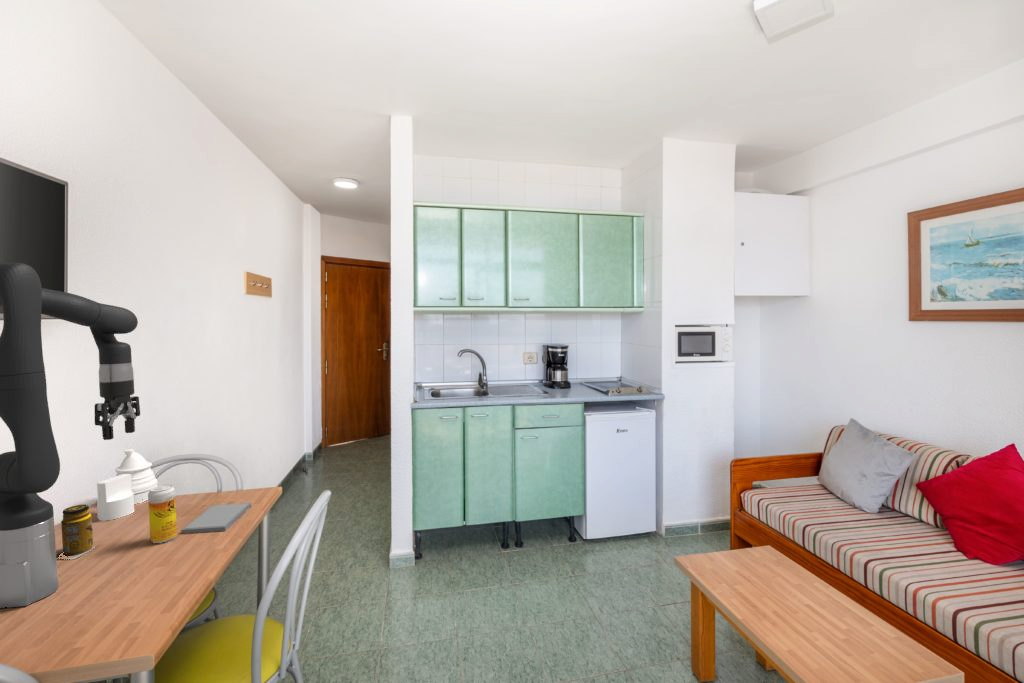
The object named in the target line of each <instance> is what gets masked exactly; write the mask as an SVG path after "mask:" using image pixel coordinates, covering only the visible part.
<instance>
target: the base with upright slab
mask: <svg viewBox="0 0 1024 683" xmlns="http://www.w3.org/2000/svg"><path fill="white" fill-rule="evenodd" d="M96 488H97V490H96V491H97V500H96V506H97V508H96V509H97V520H98V519H99V520H102V521H101V522H107V521H106V520H111V521H114V520H113V519H116V518H120V517H123V516H126V515H129V514H131V513H133V512H134V513H135V505H134V494H133V492H132V485H131V474H122V475H119V476H116V475H115V476H112V477H111V478H108V479H105V480H102V481H99V482H97V483H96ZM134 513H133V514H134ZM131 515H132V514H131ZM129 516H130V515H129ZM99 520H98V521H99Z"/></svg>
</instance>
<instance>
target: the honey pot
mask: <svg viewBox="0 0 1024 683" xmlns="http://www.w3.org/2000/svg"><path fill="white" fill-rule="evenodd" d="M123 452H124V454H125V457H124V459H123V460H122V462H121V463H120V465H119V466H117V467H116V468H115V470H114V471H115V472H116V475H115V477H116V476H119V475H122V474H131V485H132V492H133V494H134V504H136V505H138V504H137V503H140V504H143V503H142V502H144V501H146V500H148V493H149V491H150V489H151V488H154V487H157V486H159V484H158V482H159V481H158V479H157V478H156V475H155V474H154V471H153V469H152V468H151V467H152V465H153V463H152V462H150V461H147V460H146V459H145V457H144V456H142V455H141V454H140V453H138V452H137V451H135V449H133V448H129V449H125V450H124V451H123ZM142 499H143V500H142ZM144 503H145V502H144Z"/></svg>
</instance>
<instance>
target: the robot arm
mask: <svg viewBox="0 0 1024 683" xmlns="http://www.w3.org/2000/svg"><path fill="white" fill-rule="evenodd" d="M39 276H40V275H39V274H38V273H37V271H36V270H35V269H34V268H33V267H32V266H31V265H28V264H26V263H24V262H23V263H22V262H0V307H2V313H3V317H2V318H3V323H2V324H3V326H2V330H1V333H0V418H1V420H2V421H3V422H4V424H5V425H6V426H7V428H8V429H9V431H10V434H11V436H12V438H13V443H14V450H12V451H6V452H2V453H0V609H5V607H7V608H15V607H16V608H17V607H19V608H20V607H27V606H29V605H30V604H33V603H35V602H37V601H40V600H42V599H44V598H47V597H48V596H50V595H52V594H54V593H55V592H56V591H57V590H58V588H59V578H58V577H59V576H58V575H59V574H58V560H57V559H56V554H57V545H56V532H55V531H56V530H55V529H56V528H55V518H54V517H55V514H54V513H55V512H54V506H53V504H52V503H51V502H49V501H48V500H46V499H44V498H42V497H41V496H40V495H39V494H40V493H43V492H46V491H48V490H49V489H51V488H52V487H53V486H54V485H55V484H56V482H57V480H58V478H59V475H60V472H61V461H60V456H59V452H58V448H57V443H56V440H55V436H54V432H53V427H52V421H51V416H50V414H51V413H50V408H49V402H48V400H49V399H48V392H47V390H48V387H47V376H46V368H45V362H44V354H43V343H42V342H43V339H42V315H45V316H48V317H52V318H54V319H59V320H62V321H66V322H69V323H73V324H76V325H80V326H81V327H82V326H83V327H87V328H89V329H90V333H91V334H92V337H93V339H94V343H95V345H96V347H97V349H98V364H99V368H98V384H99V386H98V387H99V396H100V398H103V399H104V402H100V403H95V404H94V426H98V427H99V426H100V427H101V428H102V429H101V431H102V432H101V433H102V434H101V435H102V439H103V440H104V441H107V440H108V441H109V440H110V441H111V440H113V439H114V426H113V425H114V422H115V420H116V419H118V417H119V416H122V417H123V418H124V432H125V433H126V434H133V433H135V432H136V426H135V425H136V424H135V423H136V421H135V420H136V419H137V417H139V416H141V408H140V407H141V406H140V397H139V396H136V395H135V396H134V394H135V378H134V367H133V363H132V362H133V360H132V348H131V347H132V346H131V345H130V344H129V343H127V342H123V341H119V340H117V338H116V336H115V335H125V334H126V335H127V334H129V333H132V332H133V331H135V329H137V327H138V323H139V322H138V317H137V316H136V314H134V312H133V311H131V310H130V309H127V308H124V307H120V306H116V305H112V304H107V303H101V302H97V301H95V300H92V299H89V298H87V297H84V296H81V295H79V294H78V295H77V294H75V293H70V292H65V291H61V290H54V289H49V288H44V287H42V283H41V279H40V277H39ZM134 409H135V410H134ZM38 493H39V494H38Z"/></svg>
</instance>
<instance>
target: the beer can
mask: <svg viewBox="0 0 1024 683" xmlns="http://www.w3.org/2000/svg"><path fill="white" fill-rule="evenodd" d="M147 502H148V503H147V504H148V519H149V540H150V541H151V542H152V543H153V542H154V543H153V544H155V543H160V544H163V543H162V542H165V543H168V542H171V541H172V539H173V540H174V539H175V538H176V536H177V535H178V528H177V524H178V523H177V510H176V509H177V506H176V505H177V504H176V489H175V487H174V486H173V484H162V485H161V484H160V485H158V486H157V487H154V488H151V489H150V491H149V493H148V501H147ZM170 540H171V541H170ZM167 541H168V542H167Z"/></svg>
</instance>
